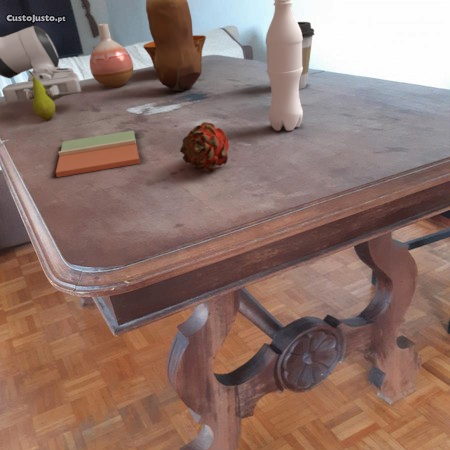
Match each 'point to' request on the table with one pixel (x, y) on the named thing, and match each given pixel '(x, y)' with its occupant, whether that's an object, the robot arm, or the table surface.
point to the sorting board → (97, 153)
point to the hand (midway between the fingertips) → (39, 94)
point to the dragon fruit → (205, 147)
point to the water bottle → (284, 67)
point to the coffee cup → (305, 51)
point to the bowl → (197, 41)
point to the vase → (110, 61)
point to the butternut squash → (173, 43)
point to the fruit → (42, 101)
